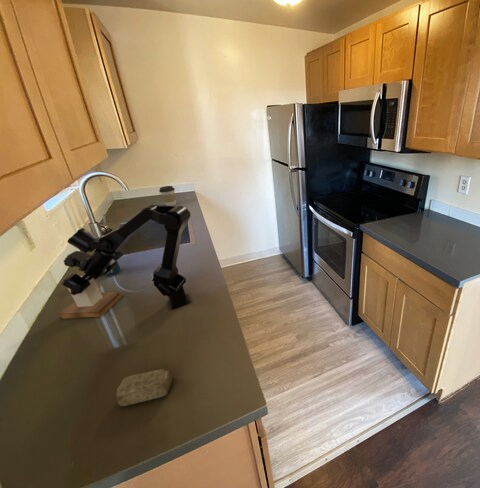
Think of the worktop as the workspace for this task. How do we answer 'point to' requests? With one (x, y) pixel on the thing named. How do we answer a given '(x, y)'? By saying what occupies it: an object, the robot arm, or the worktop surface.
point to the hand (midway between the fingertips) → (82, 287)
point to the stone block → (144, 387)
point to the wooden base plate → (91, 307)
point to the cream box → (88, 295)
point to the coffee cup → (168, 195)
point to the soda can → (113, 270)
